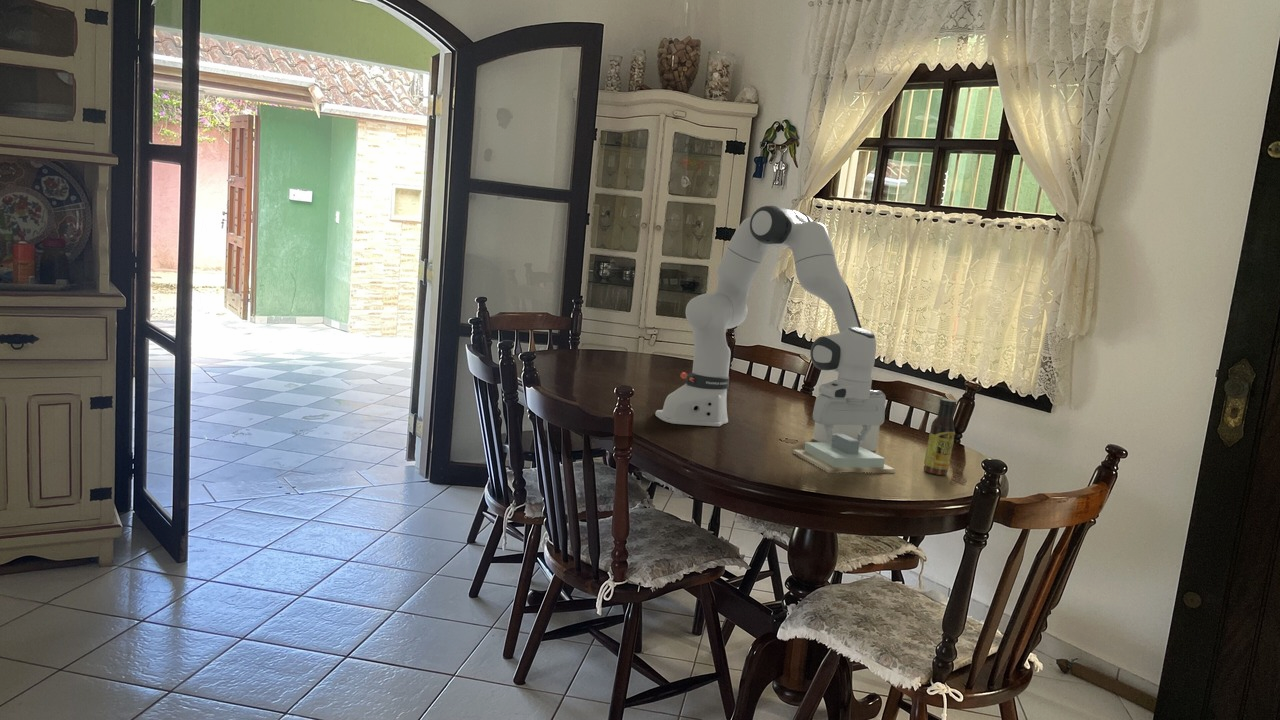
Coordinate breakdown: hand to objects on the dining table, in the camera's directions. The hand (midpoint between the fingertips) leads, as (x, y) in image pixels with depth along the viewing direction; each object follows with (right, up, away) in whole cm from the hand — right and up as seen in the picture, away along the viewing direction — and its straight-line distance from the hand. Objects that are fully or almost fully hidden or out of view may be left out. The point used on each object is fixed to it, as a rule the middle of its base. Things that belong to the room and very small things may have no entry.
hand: (845, 440), depth 225 cm
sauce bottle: (+24, -9, 0) cm, 25 cm away
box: (+5, -3, +22) cm, 22 cm away
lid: (-1, -5, +1) cm, 5 cm away
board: (-1, -6, +1) cm, 6 cm away
